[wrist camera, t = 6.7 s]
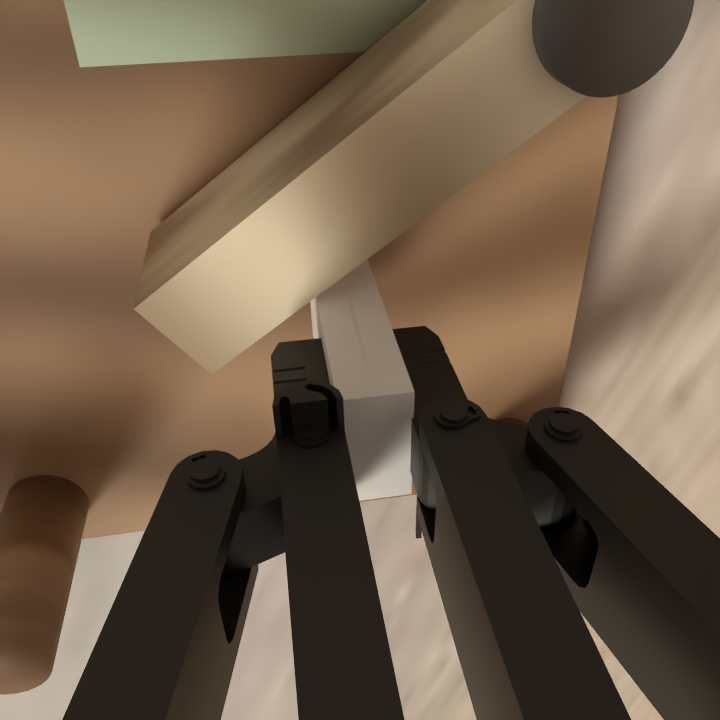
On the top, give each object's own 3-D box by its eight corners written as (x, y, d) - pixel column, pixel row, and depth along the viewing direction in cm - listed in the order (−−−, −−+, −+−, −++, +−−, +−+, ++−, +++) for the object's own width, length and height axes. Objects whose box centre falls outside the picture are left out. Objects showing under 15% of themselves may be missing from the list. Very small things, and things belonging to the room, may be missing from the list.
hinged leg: (553, -118, 15) (662, -118, 11) (603, -3, 16) (714, 31, 13) (144, 226, 18) (122, 317, 14) (219, 296, 19) (217, 395, 15)
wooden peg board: (-283, -159, 14) (-723, -194, 8) (628, -174, 16) (890, -211, 10) (20, 507, 26) (-51, 717, 19) (526, 442, 28) (616, 611, 21)
